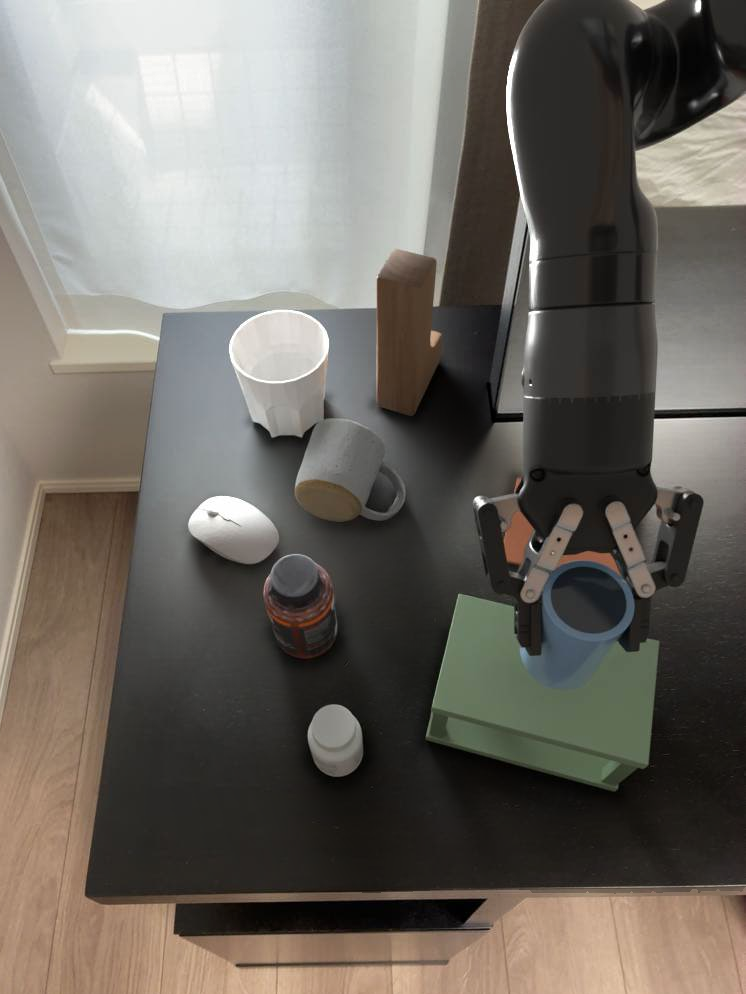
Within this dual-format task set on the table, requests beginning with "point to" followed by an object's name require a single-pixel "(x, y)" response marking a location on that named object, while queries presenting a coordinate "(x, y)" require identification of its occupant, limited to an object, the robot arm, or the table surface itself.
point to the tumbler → (579, 623)
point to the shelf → (541, 703)
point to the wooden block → (405, 330)
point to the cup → (282, 370)
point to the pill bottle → (335, 740)
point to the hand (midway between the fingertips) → (580, 648)
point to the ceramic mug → (344, 472)
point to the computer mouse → (234, 529)
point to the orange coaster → (521, 534)
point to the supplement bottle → (301, 606)
